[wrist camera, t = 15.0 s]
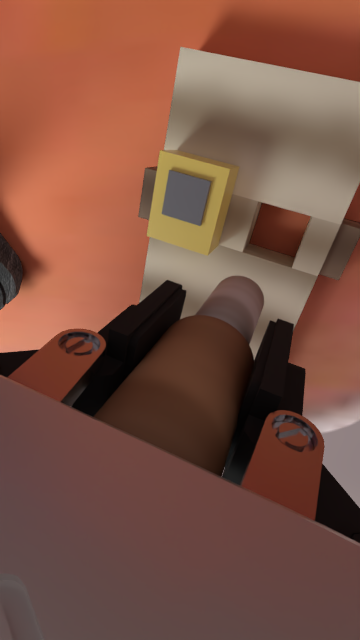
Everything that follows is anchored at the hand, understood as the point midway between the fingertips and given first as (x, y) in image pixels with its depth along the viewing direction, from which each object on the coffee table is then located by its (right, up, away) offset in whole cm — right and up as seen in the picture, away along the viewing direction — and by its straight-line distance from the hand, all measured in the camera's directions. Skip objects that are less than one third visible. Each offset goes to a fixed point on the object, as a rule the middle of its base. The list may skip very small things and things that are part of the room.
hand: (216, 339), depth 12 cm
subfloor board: (+4, +7, +19) cm, 20 cm away
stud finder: (0, +10, +15) cm, 18 cm away
